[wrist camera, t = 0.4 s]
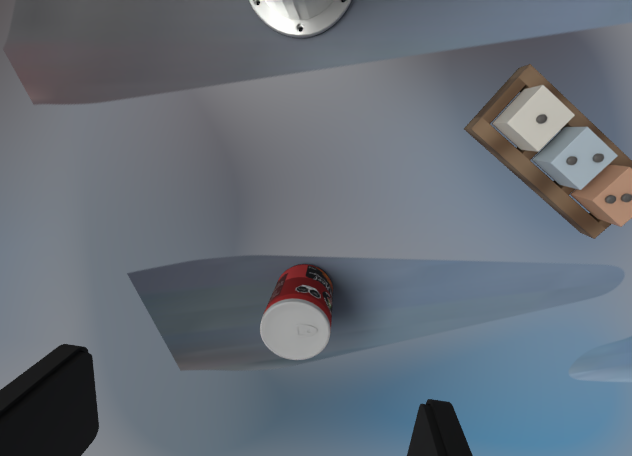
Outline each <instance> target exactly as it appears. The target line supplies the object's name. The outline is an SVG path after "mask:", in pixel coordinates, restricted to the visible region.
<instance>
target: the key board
mask: <svg viewBox="0 0 632 456" xmlns="http://www.w3.org/2000/svg"><path fill="white" fill-rule="evenodd" d="M540 85H544V86H545V87H546V88H547V89H548V90H549V91H550V92H551V93H552V94H553V95H554V96H555V97H556V98H558V99H559V100H560V101H561V102H562V103H563V104H564V105H565V106H566V107H567V108H568V109H569V110H570V111H571V112H572V113H573V114H574V115H575V116H574V117H573V118H572V119H571V120H570V121H569V122H568V123H567V124H566V125H565V126H564V127H588V128H589V129H590V130H591V131H592V132H593V133H595V134H596V135H597V136H598V137H599V138H600V139H601V140H602V141H603V142H604V143H605V144H606V145H607V146H608V147H609V148H610V149H611V150H612V151H614V152H615V153H616V154H617V155H618V156H617V157H616V158H615V159H614V160H613V161H612V162H611V163H610V164H611V165H619V166H627V167H630V168H631V169H632V160H630V159H629V158H628V157H627V156H626V155H625V154H624V153H623V152H622V151H621V150H620V149H619V148H618V147H617V146H616V145H614V143H613V142H612V141H610V140H609V139H608V138H607V137H606V136H605V135H604V134H603V133H602V132H601V131H600V130H599V129H598V128H597V127H596V126H595V125H594V124H593V123H591V122H590V121H589V120H588V119H587V118H586V117H585V116H584V115H583V114H582V113H581V112H580V111H579V110H578V109H577V108H576V107H575V106H574V105H573V104H571V103H570V102H569V101H568V100H567V99H566V98H565V97H564V96H563V95H562V94H561V93H560V92H559V91H558V90H557V89H556V88H555V87H554V86H553V85H552V84H550V83H549V82H548V81H547V80H546V79H545V78H544V77H543V76H542V75H541V74H540V73H539V72H538V71H537V70H536V69H535V68H534V67H532V65H531V64H529V65H527V66H523V67H521V68H518V70H517V71H516V72H515V73H514V74H513V75H512V76H511V77H510V78H509V80H507V82H506V83H505V84H504V85H503V86H502V87H501V88H500V89H499V90H498V92H497V93H496V94H495V95H494V96H493V97H492V98H491V99H490V101H489V102H488V103H487V104H486V105H485V106H484V107H483V108H482V109H481V110H480V111H479V113H478V114H477V115H476V116H475V117H474V118H473V119H472V120H471V121H470V123H469V124H468V125H467V126H466V127H465V128H464V130H466V131H467V132H468V133H469V134H470V135H471V136H473V138H475V139H476V140H477V141H478V142H479V143H480V144H481V145H483V146H484V147H485V148H486V149H487V150H488V151H489V152H490V153H491V154H493V155H494V156H495V157H496V158H497V159H498V160H499V161H500V162H502V163H503V164H504V165H505V166H506V167H507V168H508V169H509V170H511V171H512V172H513V173H514V174H515V175H516V176H518V178H520V179H521V180H522V181H523V182H524V183H525V184H526V185H527V186H529V187H530V188H531V189H532V190H533V191H534V192H535V193H537V194H538V195H539V196H540V197H541V198H542V199H543V200H544V201H546V202H547V203H548V204H549V205H550V206H551V207H552V208H553V209H554V210H556V211H557V212H558V213H559V214H560V215H561V216H562V217H563V218H565V219H566V220H567V221H568V222H569V223H570V224H571V225H572V226H574V227H575V228H576V229H577V230H578V231H579V232H580V233H582V234H585V235H587V236H589V237H591V238H594V239H595V238H596V237H597V236H598V235H599V234H600V233H602V232H603V231H604V230H605V229H606V228H607V227H609V226H610V225H611V223H608V222H606V221H603V220H600V219H597V218H596V217H595V216H594V215H592V214H591V213H588V212H586V211H585V210H584V209H583V208H582V207H581V206H580V205H579V204H577V203H576V202H575V201H574V200H573V199H572V198H571V197H570V196H569V194H571V192H573V191H574V190H575V189H574V188H570V187H566V186H563V185H559V184H558V183H557V182H556V181H555V180H554V181H552V180H551V179H550V178H549V177H548V176H547V175H545V174H544V173H543V172H542V171H541V170H540V169H539V168H538V167H537V166H535V165H534V164H533V163H532V162H531V161H530V160H531V159H532V158H533V157H534V156H535V155H536V154H537V153H538V152H537V151H528V150H521V149H519V148H518V147H517V148H515V147H514V146H513V145H512V144H511V143H510V142H509V141H508V140H506V138H504V137H503V136H502V135H501V134H500V133H499V132H498V131H497V130H495V129H494V128H493V127H492V126H491V125H490V123H491V122H492V121H493V120H494V119H495V118H496V117H497V115H498V114H499V113H500V112H501V111H502V110H503V109H504V108H505V107H506V106H507V105H508V104H509V102H510V101H511V100H512V99H513V98H514V97H515V96H516V95H517V94H518V93H519V92H522V91H523V90H524V89H527V88H531V87H535V86H540ZM564 127H563V128H564ZM563 128H562V129H563ZM562 129H561V130H562Z"/></svg>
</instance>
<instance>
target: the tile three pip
mask: <svg viewBox="0 0 632 456" xmlns="http://www.w3.org/2000/svg"><path fill="white" fill-rule="evenodd" d="M571 196H573V197H574V198H575V199H576V200H577V201H578V202H579V203H580V204H582V205H583V206H584V207H585V208H586V209H587V210H588V211H589V212H590V213H591V214H592V215H594V216H595V217H596V218H597V219H600V220H603V221H606V222H608V223H611V224H614V225H617V226H620V227H622V226H623V225H624V224H625V223H626V222H627V221H629V220H630V219H631V218H632V169H631V168H630V167H627V166H619V165H611V164H608V165H607V166H606V167H605V168H604V169H603V170H602V171H601V172H600V173H599V174H598V175H597V176H595V177H594V178H593V179H592V180H591V181H590V182H589V183H588V184H587V185H586V186H585V187H583V188H582V189H581V190H578V189H575V190H574V191H573V192H572V193H571Z"/></svg>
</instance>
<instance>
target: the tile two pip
mask: <svg viewBox="0 0 632 456" xmlns="http://www.w3.org/2000/svg"><path fill="white" fill-rule="evenodd" d="M617 156H618V155H617V154H616V153H615V152H614V151H612V150H611V149H610V148H609V147H608V146H607V145H606V144H605V143H604V142H603V141H602V140H601V139H600V138H599V137H598V136H597V135H596V134H595V133H593V132H592V131H591V130H590V129H589V128H588V127H564V128H563V129H562V130H561V131H560V132H559V133H558V134H557V135H556V136H555V137H554V138H553V139H552V140H551V141H550V142H549V143H548V144H547V145H546V146H545V147H544V148H543V149H542V150H541V151H540V152H539V153H538V154H537V155H536V156H535V157H534V158H533V159H532V160H533V161H534V162H535V163H536V164H537V165H538V166H539V167H540V168H542V169H543V170H544V171H545V172H546V173H547V174H548V175H549V176H550V177H552V178H553V179H554V180H555V181H556V182H557V183H558V184H559V185H563V186H566V187H570V188H574V189H578V190H581V189H582V188H583V187H585V186H586V185H587V184H588V183H589V182H590V181H591V180H592V179H593V178H594V177H595V176H597V175H598V174H599V173H600V172H601V171H602V170H603V169H604V168H605V167H606V166H607V165H608V164H610V163H611V162H612V161H613V160H614V159H615V158H616V157H617Z"/></svg>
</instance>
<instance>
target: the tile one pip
mask: <svg viewBox="0 0 632 456" xmlns="http://www.w3.org/2000/svg"><path fill="white" fill-rule="evenodd" d="M574 116H575V115H574V114H573V113H572V112H571V111H570V110H569V109H568V108H567V107H566V106H565V105H564V104H563V103H562V102H561V101H560V100H559V99H558V98H556V97H555V96H554V95H553V94H552V93H551V92H550V91H549V90H548V89H547V88H546V87H545V86H544V85H540V86H535V87H531V88H527V89H524V90H523V91H522V92H521V93H520V94H519V95H518V96H517V97H516V98H515V99H514V100H513V102H512V103H511V104H510V105H509V106H508V107H507V108H506V109H505V110H504V111H503V112H502V114H501V115H500V116H499V117H498V118H497V119H496V120H495V121H494V122H493V123H492V124H493V125H494V126H495V127H496V128H497V129H498V130H500V131H501V132H502V133H503V134H504V135H505V136H506V137H507V138H508V139H510V140H511V141H512V142H513V143H514V144H515V145H516V146H517V147H518V148H519V149H521V150H528V151H537V152H539V151H540V150H541V149H542V148H543V147H544V146H545V145H546V144H547V143H548V142H549V141H550V140H551V139H552V138H553V137H554V136H555V135H556V134H557V133H558V132H559V130H561V129H562V128H563V127H564V126H565V125H566V124H567V123H568V122H569V121H570V120H571V119H572V118H573V117H574Z"/></svg>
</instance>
